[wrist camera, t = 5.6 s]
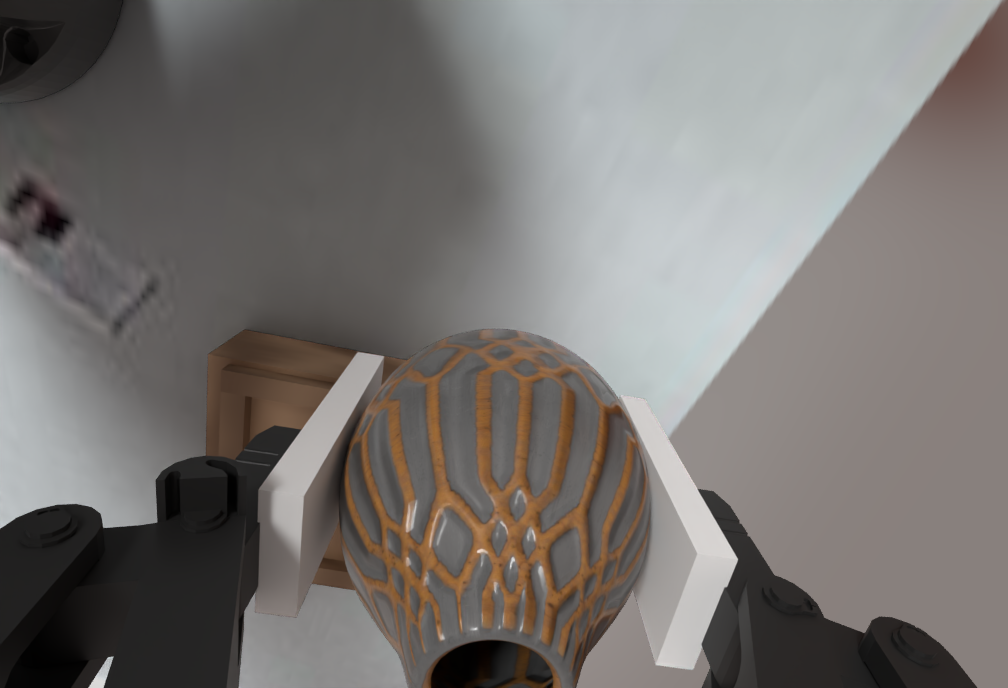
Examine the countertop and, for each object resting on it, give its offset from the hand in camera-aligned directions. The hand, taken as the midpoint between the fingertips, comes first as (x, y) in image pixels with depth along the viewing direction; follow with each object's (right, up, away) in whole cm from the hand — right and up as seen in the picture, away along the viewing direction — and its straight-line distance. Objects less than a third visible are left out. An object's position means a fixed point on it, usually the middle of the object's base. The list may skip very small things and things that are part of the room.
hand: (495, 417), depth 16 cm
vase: (0, 0, 0) cm, 0 cm away
